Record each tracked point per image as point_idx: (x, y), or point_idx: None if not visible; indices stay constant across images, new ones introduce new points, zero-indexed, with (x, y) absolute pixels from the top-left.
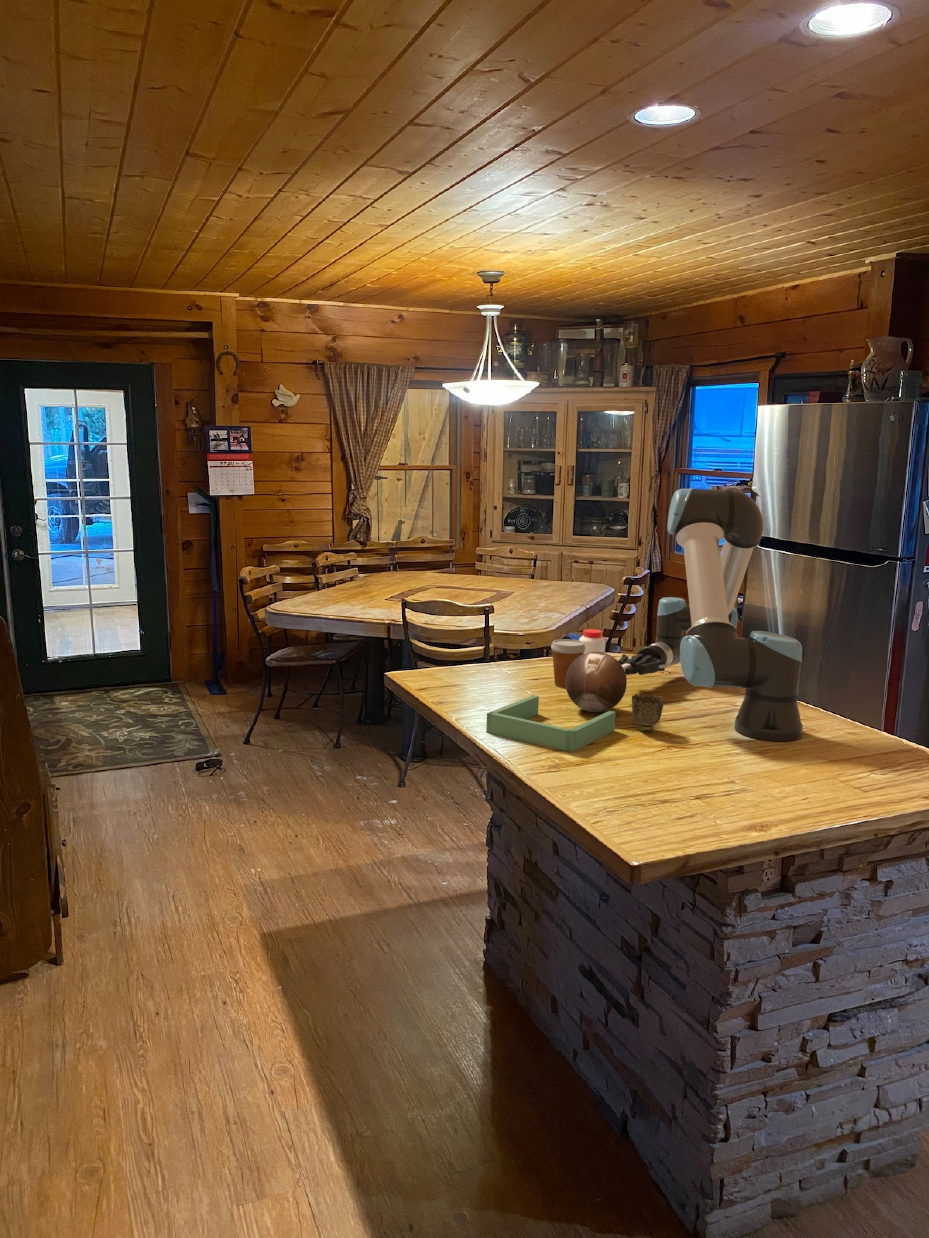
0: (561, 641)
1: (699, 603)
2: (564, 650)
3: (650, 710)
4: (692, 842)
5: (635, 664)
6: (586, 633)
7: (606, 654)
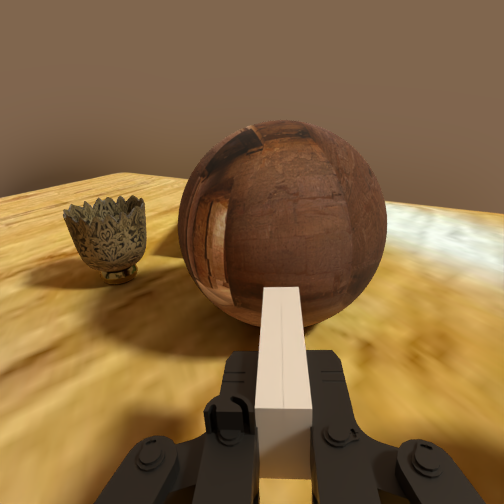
0: None
1: None
2: None
3: (102, 217)
4: (83, 182)
5: (209, 419)
6: None
7: (245, 128)
